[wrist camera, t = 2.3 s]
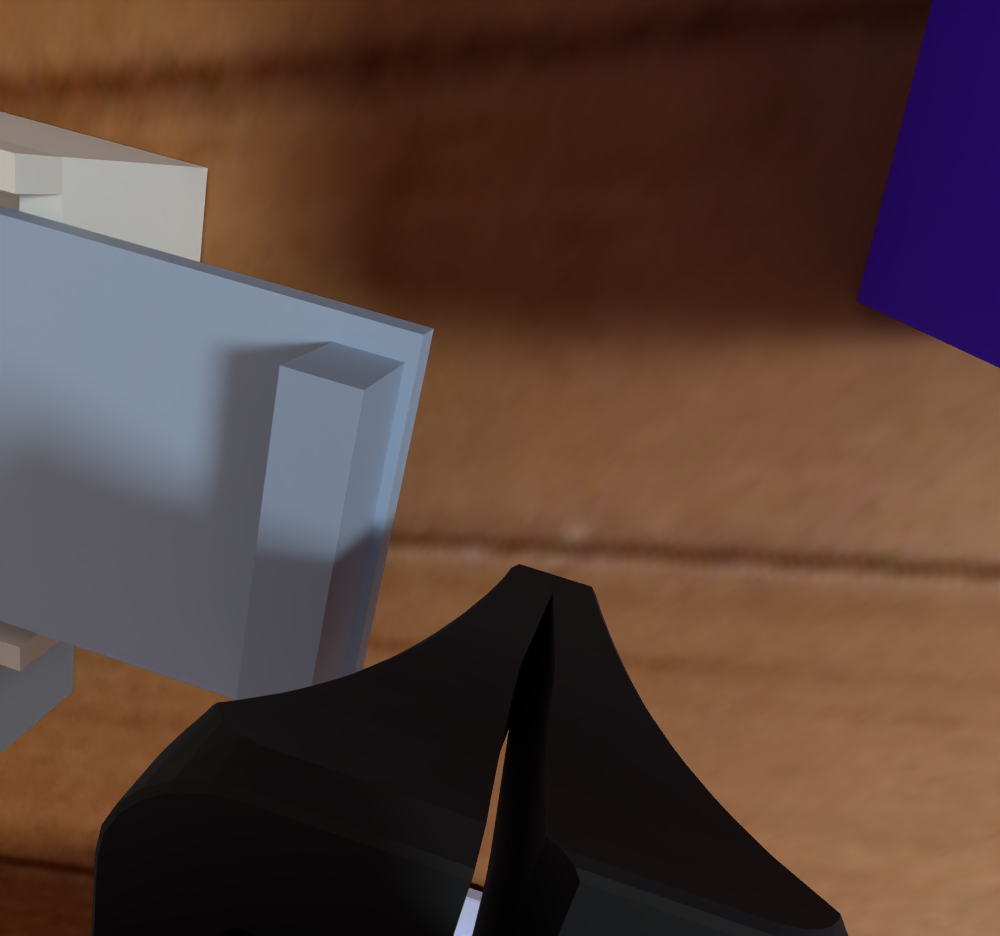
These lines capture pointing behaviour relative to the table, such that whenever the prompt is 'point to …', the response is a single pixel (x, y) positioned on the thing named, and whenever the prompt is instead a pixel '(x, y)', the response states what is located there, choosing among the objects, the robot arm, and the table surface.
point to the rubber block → (34, 691)
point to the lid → (195, 460)
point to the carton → (95, 224)
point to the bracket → (946, 189)
